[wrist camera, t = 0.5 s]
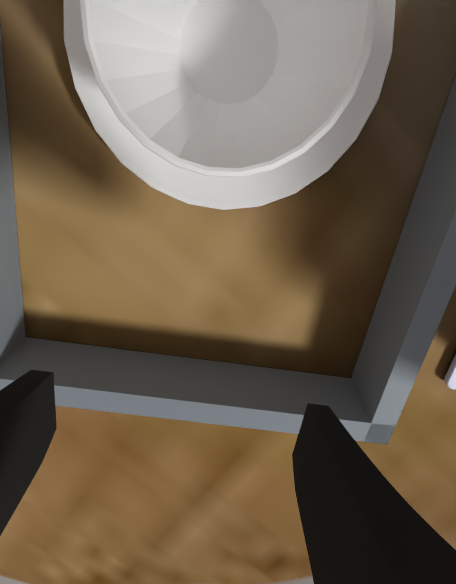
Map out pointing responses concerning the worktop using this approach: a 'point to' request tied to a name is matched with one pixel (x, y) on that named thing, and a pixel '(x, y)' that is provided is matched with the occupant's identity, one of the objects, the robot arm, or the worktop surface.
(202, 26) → the teacup
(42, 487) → the worktop surface
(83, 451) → the worktop surface
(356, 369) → the cubby
